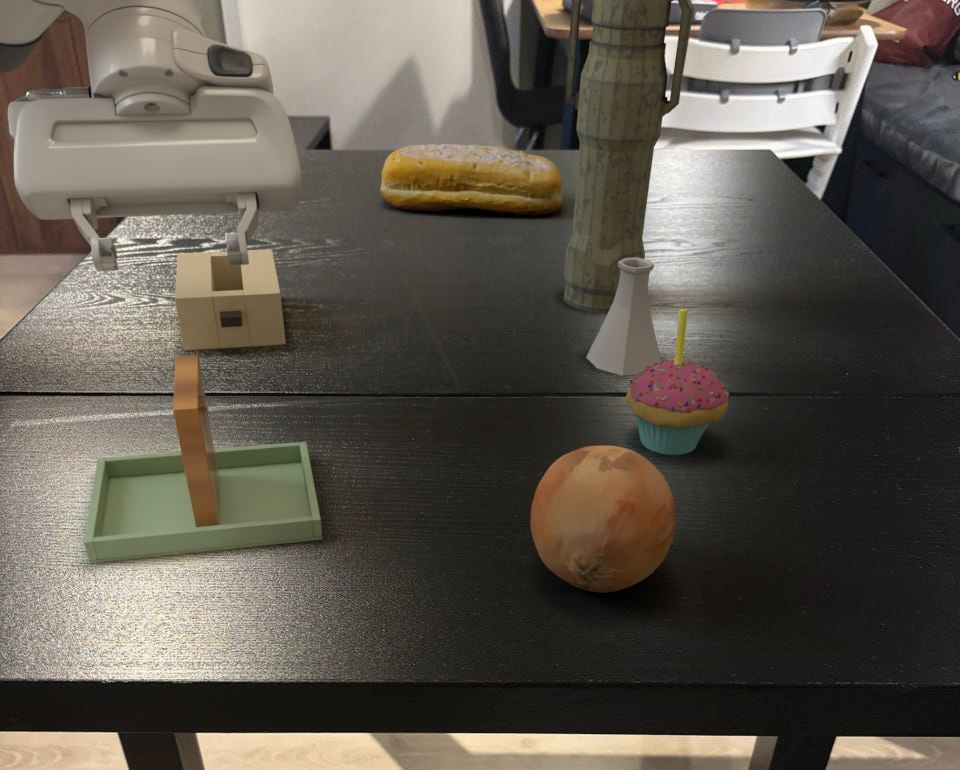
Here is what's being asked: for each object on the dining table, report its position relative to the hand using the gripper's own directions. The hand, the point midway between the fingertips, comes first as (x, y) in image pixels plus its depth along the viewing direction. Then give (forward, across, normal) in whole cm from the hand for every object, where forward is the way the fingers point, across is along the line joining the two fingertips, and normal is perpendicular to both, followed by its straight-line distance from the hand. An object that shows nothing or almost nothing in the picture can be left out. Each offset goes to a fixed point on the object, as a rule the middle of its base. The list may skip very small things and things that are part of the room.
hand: (173, 264), depth 69 cm
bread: (-39, +37, +62) cm, 82 cm away
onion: (+28, +27, -5) cm, 39 cm away
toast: (+17, 0, +4) cm, 18 cm away
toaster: (-8, +3, +30) cm, 32 cm away
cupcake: (+15, +39, +8) cm, 43 cm away
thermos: (-10, +44, +32) cm, 56 cm away
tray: (+18, 0, +4) cm, 18 cm away
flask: (+2, +41, +20) cm, 46 cm away
